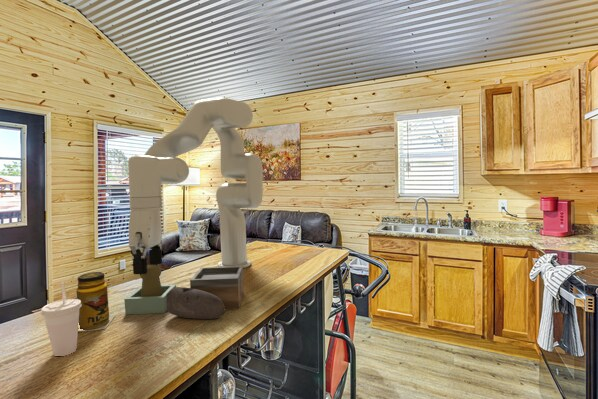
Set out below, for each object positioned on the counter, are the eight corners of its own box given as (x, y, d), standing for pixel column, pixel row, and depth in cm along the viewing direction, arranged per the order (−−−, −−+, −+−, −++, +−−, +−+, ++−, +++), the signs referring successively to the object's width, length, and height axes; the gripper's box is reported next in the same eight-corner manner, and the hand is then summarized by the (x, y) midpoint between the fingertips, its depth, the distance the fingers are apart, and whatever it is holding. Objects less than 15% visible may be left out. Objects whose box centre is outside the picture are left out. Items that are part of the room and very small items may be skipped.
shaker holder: (141, 299, 90) (141, 285, 89) (176, 298, 90) (175, 284, 90) (125, 314, 80) (124, 299, 80) (164, 312, 81) (163, 297, 80)
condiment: (105, 329, 72) (101, 278, 72) (62, 334, 71) (58, 281, 70) (115, 315, 80) (112, 268, 79) (77, 320, 78) (73, 271, 77)
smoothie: (91, 347, 65) (86, 280, 64) (56, 364, 59) (50, 291, 58) (72, 341, 67) (67, 276, 66) (37, 356, 62) (31, 286, 61)
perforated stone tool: (230, 316, 78) (229, 288, 78) (218, 326, 73) (217, 296, 73) (178, 309, 82) (177, 283, 82) (164, 318, 77) (162, 290, 77)
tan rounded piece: (155, 311, 82) (152, 269, 81) (134, 309, 83) (132, 268, 82) (169, 302, 87) (167, 262, 87) (149, 300, 89) (147, 262, 88)
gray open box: (202, 295, 92) (200, 267, 92) (243, 293, 93) (242, 266, 92) (191, 311, 81) (190, 280, 81) (238, 309, 82) (237, 278, 81)
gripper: (145, 202, 91) (147, 260, 92) (113, 206, 74) (117, 279, 75) (172, 201, 92) (174, 260, 93) (147, 206, 74) (149, 278, 75)
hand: (148, 268), depth 84 cm, fingers open, 9 cm apart
